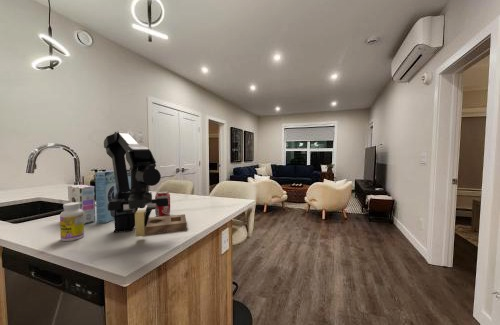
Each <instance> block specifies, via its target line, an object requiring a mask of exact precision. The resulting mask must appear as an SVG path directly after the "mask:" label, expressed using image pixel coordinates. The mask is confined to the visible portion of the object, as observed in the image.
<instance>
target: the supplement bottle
mask: <svg viewBox="0 0 500 325" xmlns="http://www.w3.org/2000/svg"><path fill="white" fill-rule="evenodd" d="M62 207H63V211H61V213H60V214H59V221H60V222H59V227H60V229H59V231H60V240H61V241H63V242H72V241H76V240H79V239H81V238H83V237H84V235H85V227H84V226H85V224H84V218H83V210H81V209H79V207H80V203H79V202H73V203H69V202H67V203H63V205H62Z"/></svg>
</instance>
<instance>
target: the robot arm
mask: <svg viewBox="0 0 500 325" xmlns="http://www.w3.org/2000/svg"><path fill="white" fill-rule="evenodd" d="M103 147H104V149H105V152H106V154H107V155H108V157H109V158H111V161H112V168H113V171H114V176H115V182H116V189H117V193H116V195H115V197H114V199H113V200H112V201H110V202H109V203H108V211H110V213H111V216H112V217H114V218H115V219H114V230H113V233H121V232H130V231H133V229H135V213H136V211H137V210H139V209H144V208H145V210H146V216H145V227H146V225H147V222H148V219H149V218H150V217H151V216H150V215H151V213H152V211H153V210H155V208H156V205H157V206H158V207H163V206H168V204H169V198H168V197H167V196H158V197H157V199H155V198H153V194H152V192H150V186H152V187H153V186H156V185H158V184H159V182H160V181H161V178H162V176H161V172H160V171H159V170H158V169H157V168H155V167H156V166H157V164H156V163H157V162H156V160H155V157H154V155H153V152H152V151H151V149H150V148H149V147H147V146H145V145H141V144H139V143H138V142H137V140H135V139H134V137H132V135H131V133H130V132H128V131H122V130H121V131H119V130H117V131H114V132H113V133H111V134H109V135H107V136H106V137H105V138H104V141H103ZM126 162H127V163H128V166H129V170H130V183H131V189H130V187H129V181H128V175H127V170H128V169H127V164H126ZM116 212H117V213H116Z"/></svg>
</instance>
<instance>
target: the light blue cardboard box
mask: <svg viewBox="0 0 500 325" xmlns="http://www.w3.org/2000/svg"><path fill="white" fill-rule="evenodd" d="M127 175H128V181H129V187H130V189H131V177H130V169H127ZM94 176H95V178H94V180H95V215H96V223H97V224H104V223H105V224H107V223H109V222H111V221H113V220H114V221H115V218H114V217H112V216H111V213H110V211H108V203H109V202H110V201H112V200H113V199H114V197H115V195H116V193H117V189H116V182H115V176H114V170H107V171H106V170H105V171H99V172H98V171H96V172H94ZM116 213H117V212H116Z"/></svg>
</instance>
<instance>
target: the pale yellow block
mask: <svg viewBox="0 0 500 325" xmlns="http://www.w3.org/2000/svg"><path fill="white" fill-rule="evenodd" d="M145 216H146V209H138V210H137V211H136V213H135V227H134V231H135V232H134V233H135V234H134V235H135V237H136V238H137V237H145V233H146V227H145Z"/></svg>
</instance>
